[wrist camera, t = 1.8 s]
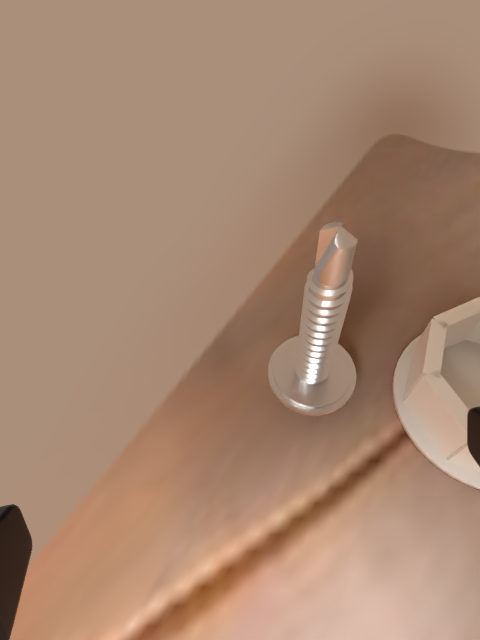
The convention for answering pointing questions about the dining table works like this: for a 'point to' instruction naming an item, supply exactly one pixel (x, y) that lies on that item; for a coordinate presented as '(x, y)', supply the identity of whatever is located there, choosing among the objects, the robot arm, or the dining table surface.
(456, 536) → the dining table surface
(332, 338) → the screw
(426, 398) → the white pet bowl
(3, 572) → the robot arm
